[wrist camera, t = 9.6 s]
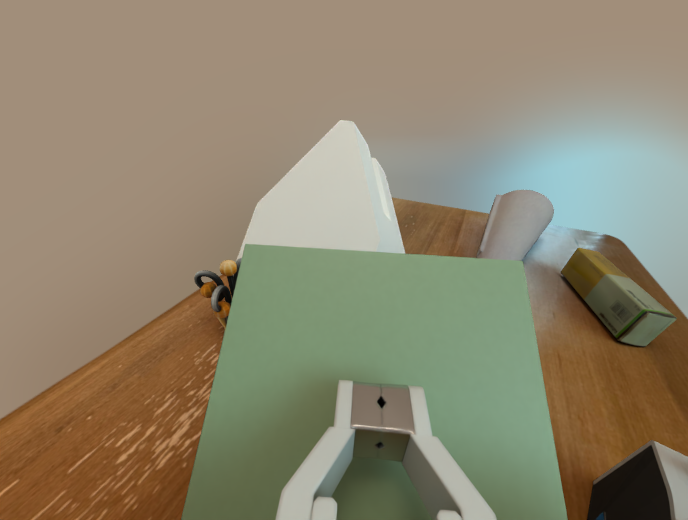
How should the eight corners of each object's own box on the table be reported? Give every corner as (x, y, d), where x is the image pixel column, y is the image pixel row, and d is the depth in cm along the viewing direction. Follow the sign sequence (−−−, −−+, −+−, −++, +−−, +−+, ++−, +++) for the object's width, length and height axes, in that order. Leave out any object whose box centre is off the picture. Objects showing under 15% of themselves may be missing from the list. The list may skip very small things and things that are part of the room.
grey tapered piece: (578, 317, 23) (563, 195, 41) (469, 283, 27) (499, 184, 44) (539, 367, 28) (541, 239, 46) (451, 333, 32) (484, 226, 49)
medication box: (648, 349, 27) (681, 319, 24) (618, 343, 27) (648, 313, 24) (579, 275, 36) (599, 249, 34) (558, 271, 37) (576, 245, 34)
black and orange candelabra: (258, 304, 30) (239, 240, 25) (281, 330, 27) (264, 262, 22) (214, 327, 28) (184, 261, 23) (234, 358, 25) (204, 289, 20)
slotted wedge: (383, 328, 32) (434, 183, 33) (345, 336, 22) (419, 127, 23) (291, 287, 38) (335, 165, 39) (229, 280, 28) (289, 115, 29)
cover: (250, 249, 15) (244, 243, 14) (514, 266, 14) (523, 260, 13) (171, 602, 10) (156, 621, 9) (576, 655, 9) (597, 681, 8)
